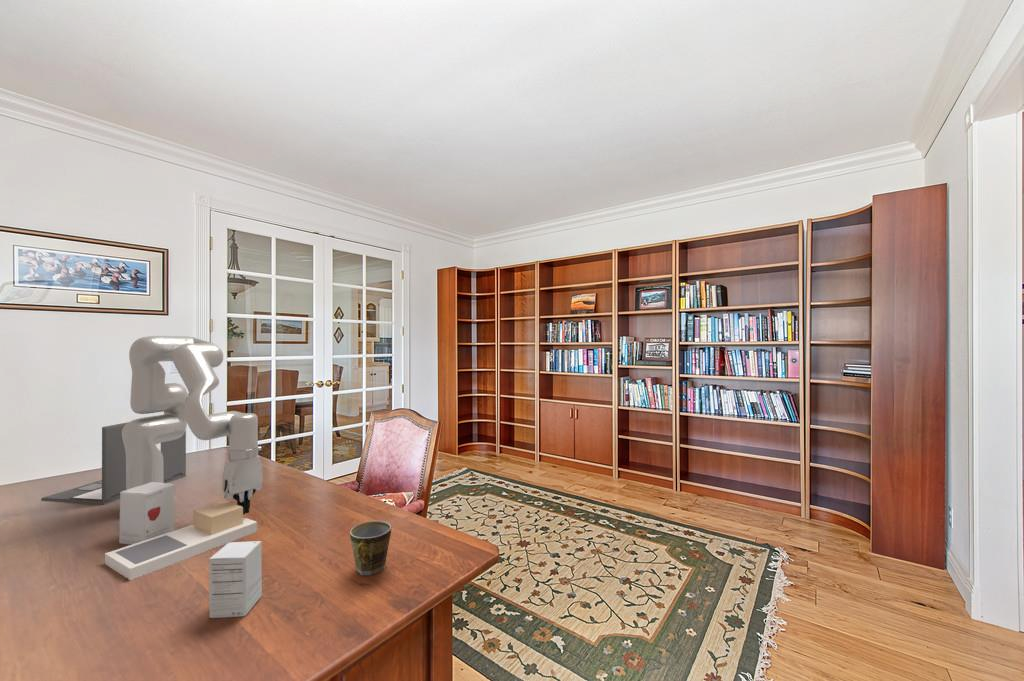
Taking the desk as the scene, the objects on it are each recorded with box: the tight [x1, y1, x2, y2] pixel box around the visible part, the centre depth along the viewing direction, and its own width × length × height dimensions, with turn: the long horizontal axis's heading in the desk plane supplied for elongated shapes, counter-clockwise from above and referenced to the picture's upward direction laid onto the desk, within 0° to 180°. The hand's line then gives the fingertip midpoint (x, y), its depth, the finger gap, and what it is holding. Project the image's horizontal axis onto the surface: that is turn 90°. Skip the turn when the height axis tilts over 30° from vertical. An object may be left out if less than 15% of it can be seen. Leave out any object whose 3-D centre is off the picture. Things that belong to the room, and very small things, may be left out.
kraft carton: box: [193, 500, 244, 535], centre depth 125 cm, size 10×8×5 cm
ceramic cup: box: [349, 520, 392, 576], centre depth 106 cm, size 13×10×10 cm
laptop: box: [40, 421, 187, 506], centre depth 164 cm, size 32×26×28 cm
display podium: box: [104, 516, 258, 581], centre depth 118 cm, size 15×30×3 cm, turn 151°
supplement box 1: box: [119, 482, 176, 545], centre depth 123 cm, size 9×9×15 cm
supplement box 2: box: [208, 540, 263, 619], centre depth 91 cm, size 7×7×13 cm
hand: (243, 512), depth 131 cm, fingers closed
